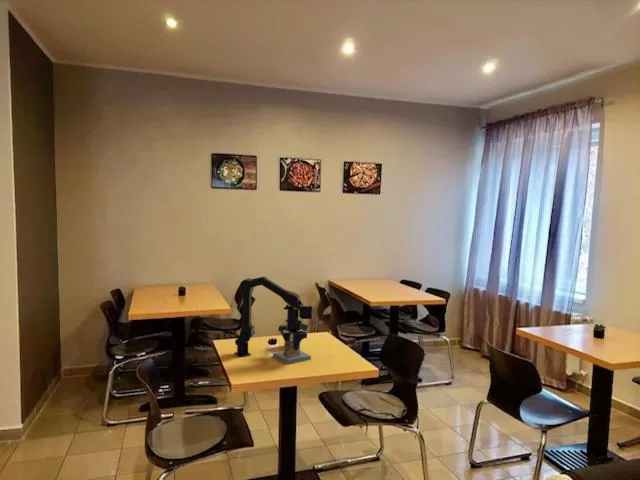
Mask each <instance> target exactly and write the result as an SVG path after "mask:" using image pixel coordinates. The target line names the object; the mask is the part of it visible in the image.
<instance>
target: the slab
mask: <svg viewBox="0 0 640 480" xmlns="http://www.w3.org/2000/svg"><path fill="white" fill-rule="evenodd" d="M283 351H284V350H280V351H275V352H273V353H272V357H273V356H274V357H273V358H275V359H277V360H278V361H281V362H282V363H284V364H286V365H291V364H297V363H300V362H307V361H310V360H311V359H312V355H310V354H308V353H306V352H304V351H301V350H300V355H299V356H294V357H289V356H287V355H285V354H283Z"/></svg>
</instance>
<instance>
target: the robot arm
mask: <svg viewBox="0 0 640 480" xmlns="http://www.w3.org/2000/svg"><path fill="white" fill-rule="evenodd" d="M259 286H262V287H264V288H266V289H267V290H268V291H271V292H273V293H274V294H275V295H277V296H279V297H280V298H281V299H282V300H283V301H284V302H285V303H286V306H284V307H283V310H287V315H286V316H287V317H286V318H287V319H285V323H286V324H280V325H279V327H278V329H277V331H278V332H280V334H281V336H282V339H283V340H284V342H285V341H290V335H291V334H293V337H294V338H292V339H293V344H294V348H295V350H297V349H298V347H299V344H300V342H301V343H302V340H305V339H307V338H308V333H307V331H308V328H309V325H308V324H305V323H303V322H302V320H314V307H313V305H304V303H303V302H302V300H301V299H300V295H299V294H298V293H297V292H293V291H291V290H288V289H285V288H284V287H282V286H281V285H278V284H277V283H276V282H273V281H272V280H270V279H268V278H267V277H266V276H264V275H263V276H260V277H256V278H249V277H248V278H245V279H243V280H242V281H241V282H240V283H239V288H240V292H241V296H242V324H241V328H240V331H239V335H238V336H239V337H237V338H236V339H235V341H234V343H235V345H236V351H235V352H234V355H236V356H238V357H240V358H241V357H246V356H251V354H252V353H250V352H249V341H250V340H251V339H252V338H253V337H254V335H255V333H256V332H255V325H252V296H253V292H254V288H255V287H259ZM299 319H301V320H299ZM301 330H302V331H301Z"/></svg>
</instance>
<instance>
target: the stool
mask: <svg viewBox="0 0 640 480" xmlns="http://www.w3.org/2000/svg"><path fill="white" fill-rule="evenodd" d="M283 343H284V345H283V346H284V347H283V348H284V349H283V350H282V351H283V354H285V355H287V356H289V357H294V356H299V355H300V351H301V348H300V344H299V347H298V349H297V350H295V348H294V344H293V340H291V341H284V342H283Z"/></svg>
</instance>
